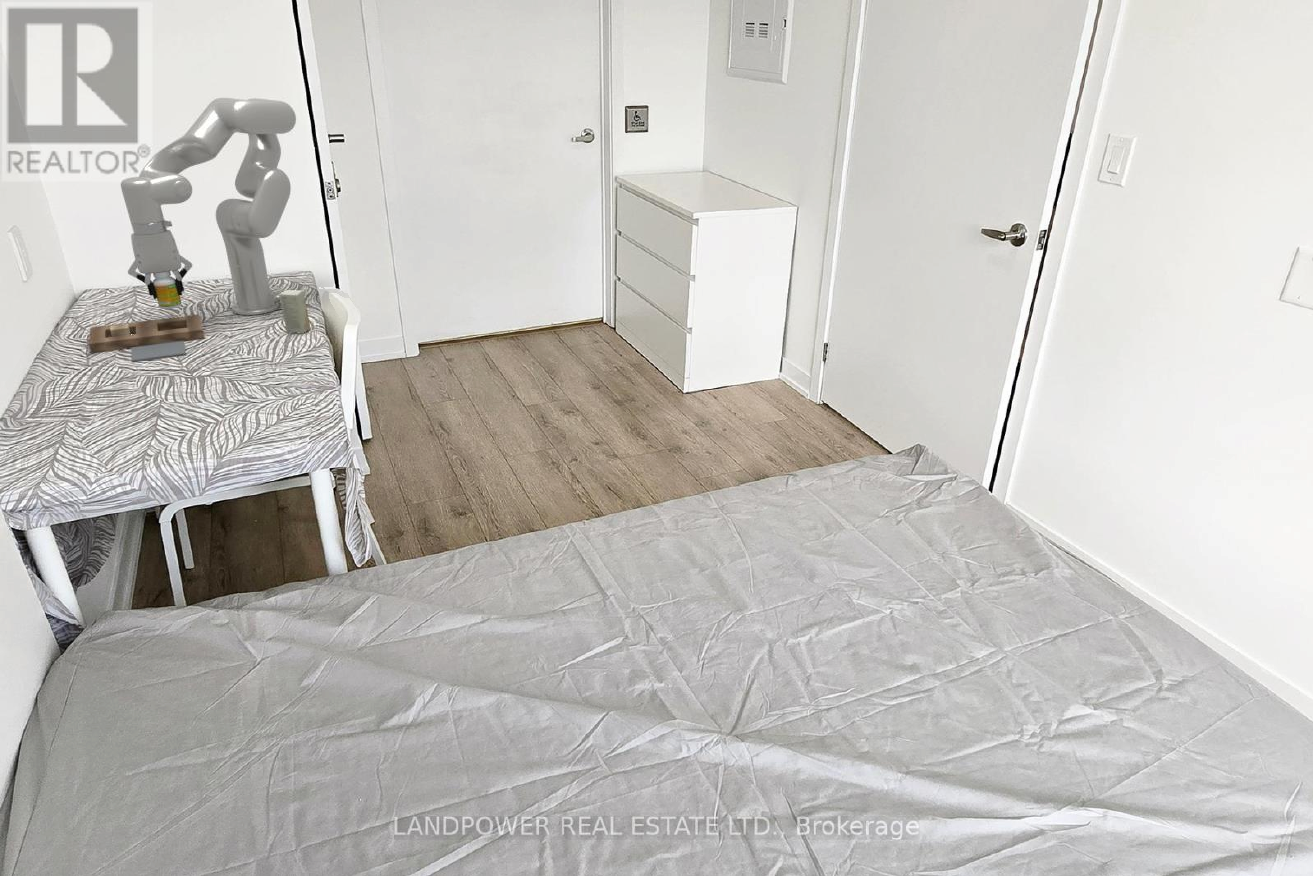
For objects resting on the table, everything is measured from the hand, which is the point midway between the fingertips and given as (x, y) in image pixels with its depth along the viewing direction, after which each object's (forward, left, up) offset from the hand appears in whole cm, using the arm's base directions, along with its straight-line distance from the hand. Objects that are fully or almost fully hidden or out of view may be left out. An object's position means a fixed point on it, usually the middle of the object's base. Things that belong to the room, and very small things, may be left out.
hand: (167, 295), depth 226 cm
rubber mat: (+5, +13, -11) cm, 18 cm away
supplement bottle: (0, 0, -3) cm, 3 cm away
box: (-29, +11, -11) cm, 33 cm away
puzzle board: (+7, 0, -11) cm, 13 cm away
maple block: (+13, 0, -11) cm, 17 cm away
